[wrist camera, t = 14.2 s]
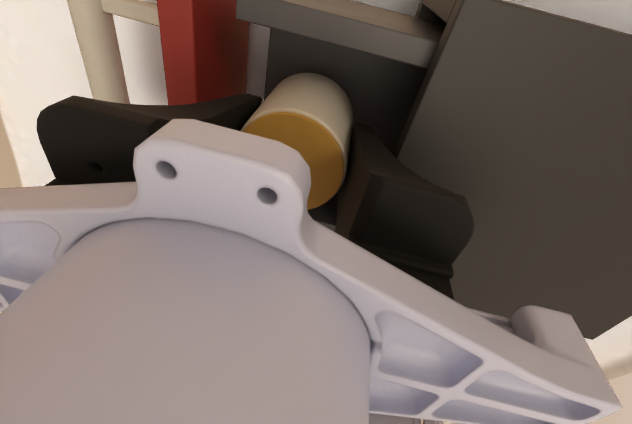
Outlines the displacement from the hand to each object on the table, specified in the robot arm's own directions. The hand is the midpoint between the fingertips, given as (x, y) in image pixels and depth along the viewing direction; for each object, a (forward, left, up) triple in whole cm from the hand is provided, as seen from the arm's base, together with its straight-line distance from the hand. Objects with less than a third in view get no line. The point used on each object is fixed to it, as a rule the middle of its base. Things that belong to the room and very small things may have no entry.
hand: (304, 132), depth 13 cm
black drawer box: (+8, -6, -5) cm, 11 cm away
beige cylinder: (0, 0, -1) cm, 1 cm away
